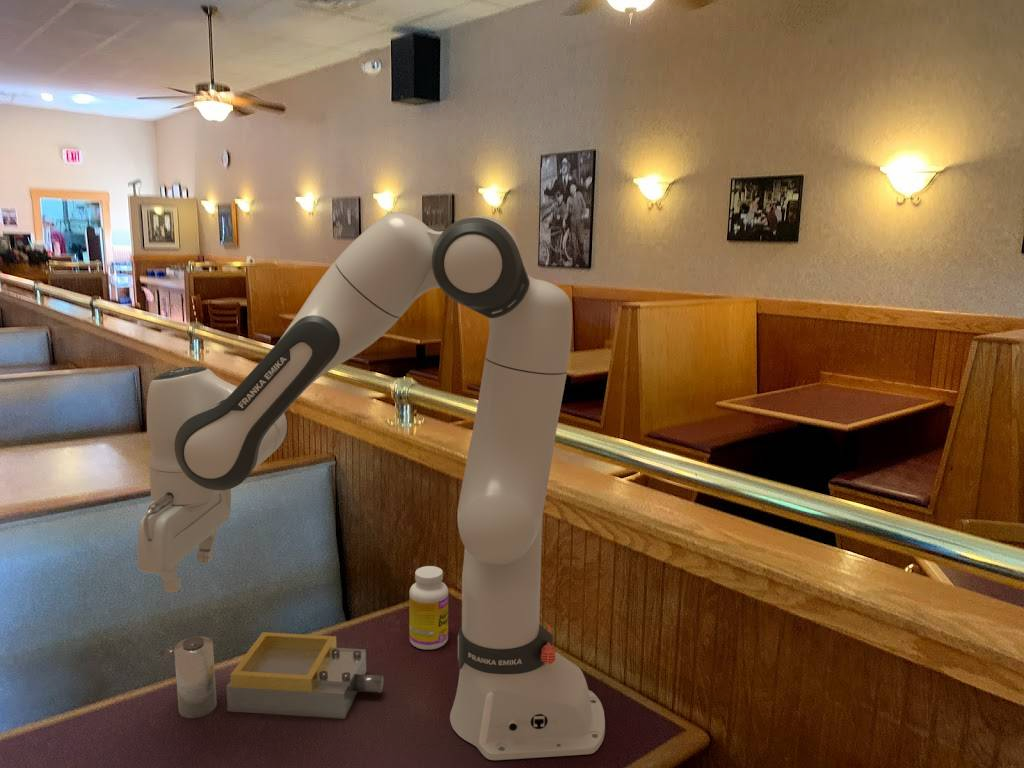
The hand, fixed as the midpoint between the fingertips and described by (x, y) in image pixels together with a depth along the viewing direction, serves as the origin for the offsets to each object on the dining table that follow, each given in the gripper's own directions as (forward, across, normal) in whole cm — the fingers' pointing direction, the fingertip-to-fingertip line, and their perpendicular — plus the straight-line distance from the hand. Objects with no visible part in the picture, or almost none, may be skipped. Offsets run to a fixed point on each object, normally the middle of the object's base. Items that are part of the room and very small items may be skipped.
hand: (189, 575), depth 110 cm
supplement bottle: (+20, +22, -31) cm, 43 cm away
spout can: (+21, 0, +1) cm, 21 cm away
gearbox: (+21, +5, -16) cm, 27 cm away
